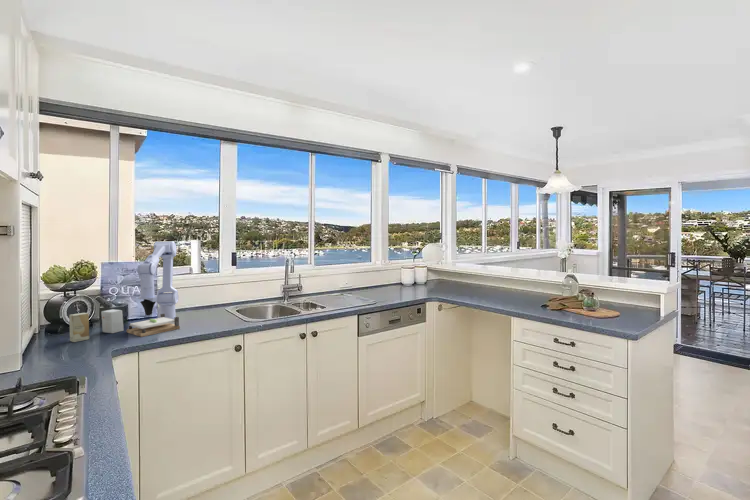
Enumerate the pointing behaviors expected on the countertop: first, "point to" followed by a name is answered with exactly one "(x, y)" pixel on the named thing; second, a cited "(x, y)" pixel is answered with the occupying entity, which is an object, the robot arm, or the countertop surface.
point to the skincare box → (79, 327)
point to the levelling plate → (152, 322)
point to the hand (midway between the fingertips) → (148, 314)
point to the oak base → (154, 328)
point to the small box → (112, 321)
